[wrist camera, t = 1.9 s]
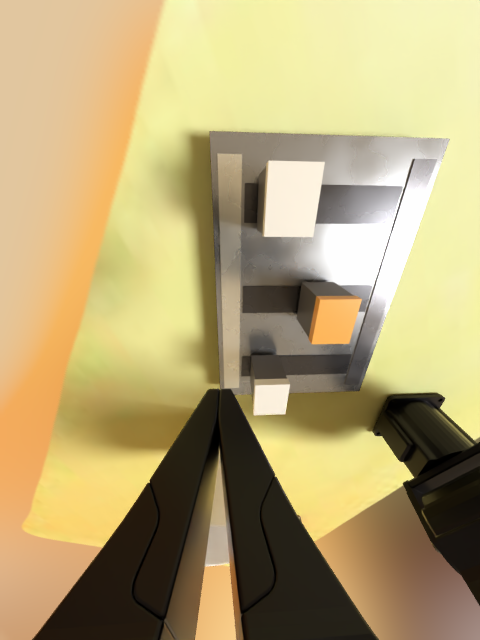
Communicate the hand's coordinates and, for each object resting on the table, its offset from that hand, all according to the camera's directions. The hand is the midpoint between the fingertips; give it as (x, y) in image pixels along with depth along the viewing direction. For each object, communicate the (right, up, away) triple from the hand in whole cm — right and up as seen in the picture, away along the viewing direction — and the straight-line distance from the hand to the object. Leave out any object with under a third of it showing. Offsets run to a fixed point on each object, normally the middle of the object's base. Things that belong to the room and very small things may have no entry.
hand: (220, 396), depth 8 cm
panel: (+6, +5, +10) cm, 13 cm away
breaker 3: (+6, +4, +9) cm, 12 cm away
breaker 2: (+3, +10, +5) cm, 12 cm away
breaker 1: (+3, -2, +11) cm, 12 cm away
